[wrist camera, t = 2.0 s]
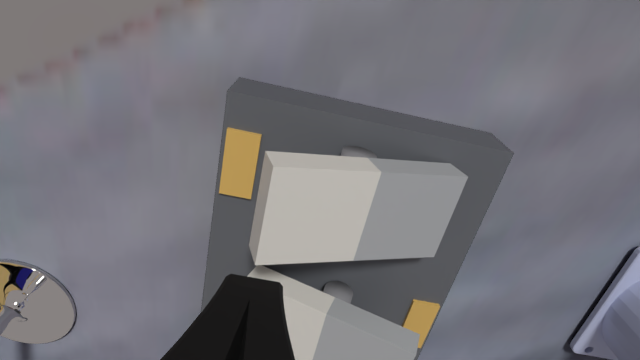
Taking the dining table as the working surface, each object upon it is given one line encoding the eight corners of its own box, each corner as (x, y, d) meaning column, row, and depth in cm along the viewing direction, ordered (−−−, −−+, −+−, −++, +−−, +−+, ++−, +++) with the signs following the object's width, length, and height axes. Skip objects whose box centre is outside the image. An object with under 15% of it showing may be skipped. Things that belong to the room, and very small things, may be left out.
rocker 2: (423, 314, 18) (416, 354, 16) (397, 372, 20) (387, 415, 18) (271, 249, 20) (245, 277, 18) (259, 307, 22) (234, 339, 20)
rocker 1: (432, 150, 18) (468, 176, 16) (404, 223, 20) (434, 256, 17) (257, 135, 15) (273, 166, 13) (243, 224, 16) (254, 265, 14)
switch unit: (491, 133, 19) (516, 154, 16) (374, 402, 27) (379, 442, 25) (239, 77, 18) (226, 91, 15) (200, 375, 26) (187, 414, 24)
